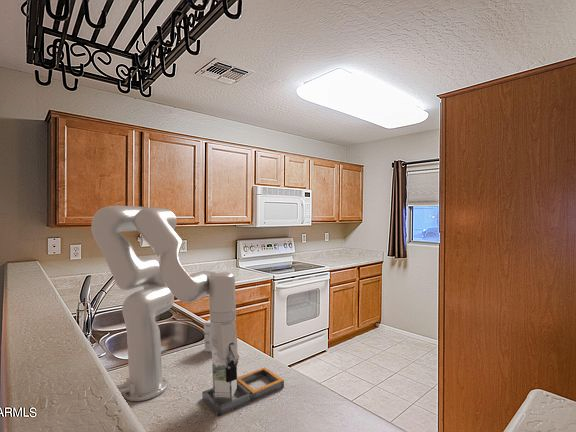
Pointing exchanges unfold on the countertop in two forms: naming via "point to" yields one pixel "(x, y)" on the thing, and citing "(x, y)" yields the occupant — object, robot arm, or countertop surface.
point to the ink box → (207, 335)
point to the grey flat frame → (245, 391)
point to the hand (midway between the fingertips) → (224, 374)
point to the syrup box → (221, 377)
